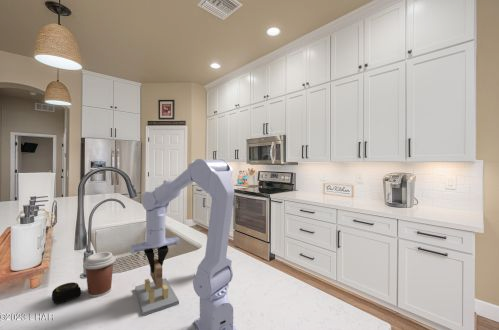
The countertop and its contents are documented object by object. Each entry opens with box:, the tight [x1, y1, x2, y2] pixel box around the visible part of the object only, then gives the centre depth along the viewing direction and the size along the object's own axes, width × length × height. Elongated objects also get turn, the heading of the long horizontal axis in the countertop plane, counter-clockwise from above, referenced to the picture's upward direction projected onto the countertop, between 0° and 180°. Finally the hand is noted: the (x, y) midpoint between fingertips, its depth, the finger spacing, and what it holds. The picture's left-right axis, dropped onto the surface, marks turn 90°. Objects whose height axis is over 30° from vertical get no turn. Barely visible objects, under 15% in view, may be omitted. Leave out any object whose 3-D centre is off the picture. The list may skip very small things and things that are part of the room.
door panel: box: [149, 255, 163, 288], centre depth 74 cm, size 10×2×6 cm, turn 34°
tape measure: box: [51, 282, 82, 305], centre depth 72 cm, size 7×7×4 cm
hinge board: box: [135, 277, 180, 317], centre depth 74 cm, size 16×10×4 cm, turn 34°
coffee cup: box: [82, 251, 117, 298], centre depth 76 cm, size 9×9×12 cm
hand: (156, 270), depth 74 cm, fingers closed on door panel, 2 cm apart
